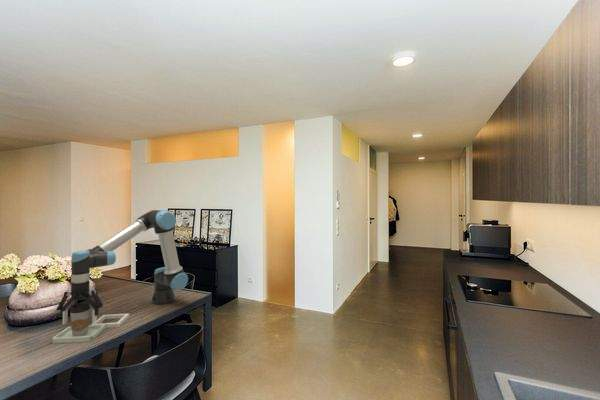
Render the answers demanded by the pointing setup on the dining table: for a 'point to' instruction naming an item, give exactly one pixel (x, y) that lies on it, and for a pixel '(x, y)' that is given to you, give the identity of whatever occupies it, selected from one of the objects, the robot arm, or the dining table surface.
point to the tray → (68, 337)
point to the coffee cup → (79, 319)
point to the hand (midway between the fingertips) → (80, 322)
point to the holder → (112, 316)
